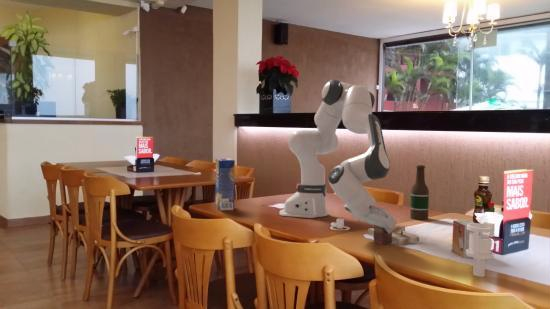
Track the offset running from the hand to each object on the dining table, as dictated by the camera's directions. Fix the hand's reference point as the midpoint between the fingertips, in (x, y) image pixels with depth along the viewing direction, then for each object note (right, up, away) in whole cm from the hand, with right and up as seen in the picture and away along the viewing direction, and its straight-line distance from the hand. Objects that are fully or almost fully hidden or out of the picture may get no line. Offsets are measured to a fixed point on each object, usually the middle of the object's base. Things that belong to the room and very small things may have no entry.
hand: (384, 230), depth 168 cm
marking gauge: (+3, -4, +1) cm, 5 cm away
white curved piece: (-11, -3, +25) cm, 28 cm away
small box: (+23, -6, -15) cm, 28 cm away
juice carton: (-64, 0, +67) cm, 92 cm away
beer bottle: (+26, -2, +45) cm, 52 cm away
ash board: (+5, -4, +7) cm, 9 cm away
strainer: (+18, -7, -36) cm, 41 cm away
